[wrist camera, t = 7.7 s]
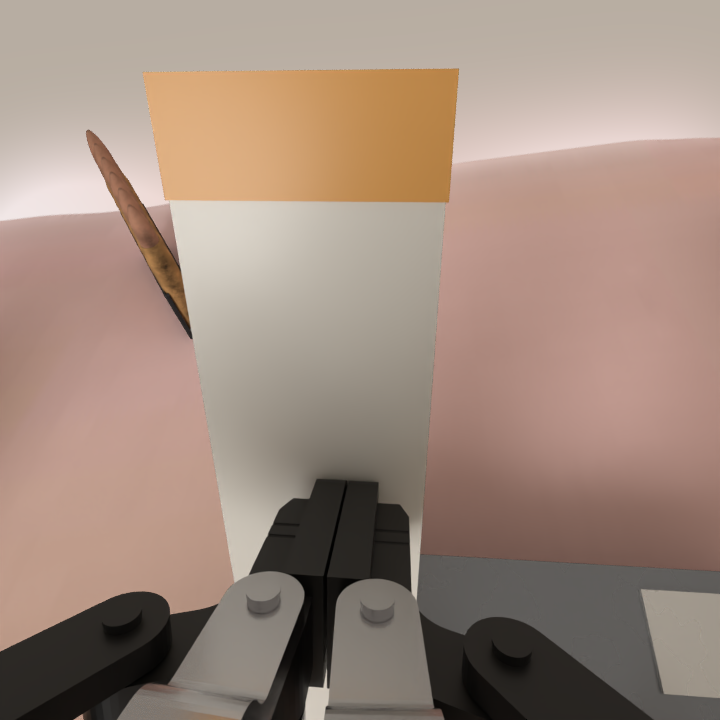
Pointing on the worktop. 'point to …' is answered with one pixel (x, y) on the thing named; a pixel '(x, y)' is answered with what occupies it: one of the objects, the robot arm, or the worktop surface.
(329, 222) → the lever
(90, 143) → the ammunition clip
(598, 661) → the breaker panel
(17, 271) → the worktop surface
